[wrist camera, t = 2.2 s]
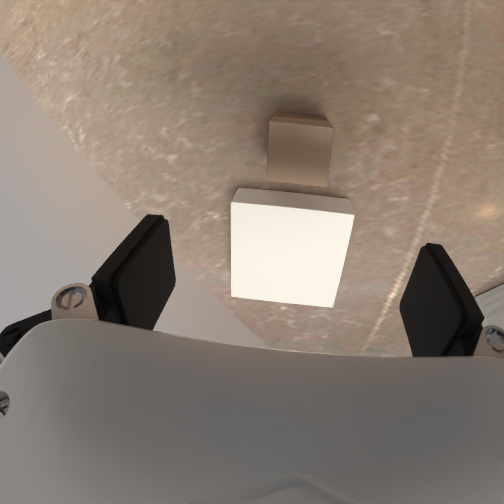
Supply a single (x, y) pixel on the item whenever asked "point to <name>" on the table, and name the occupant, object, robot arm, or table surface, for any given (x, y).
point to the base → (288, 246)
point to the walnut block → (299, 149)
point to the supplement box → (492, 306)
